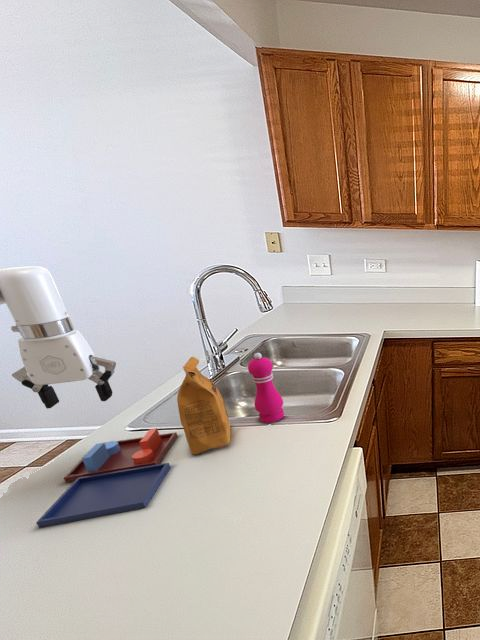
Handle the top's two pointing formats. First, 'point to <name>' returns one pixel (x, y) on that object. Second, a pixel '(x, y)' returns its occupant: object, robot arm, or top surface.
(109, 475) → the navy tray
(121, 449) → the maroon tray
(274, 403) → the pepper mill
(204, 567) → the top surface
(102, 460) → the blue spoon
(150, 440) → the coral spoon
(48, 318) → the robot arm
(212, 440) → the coffee package
